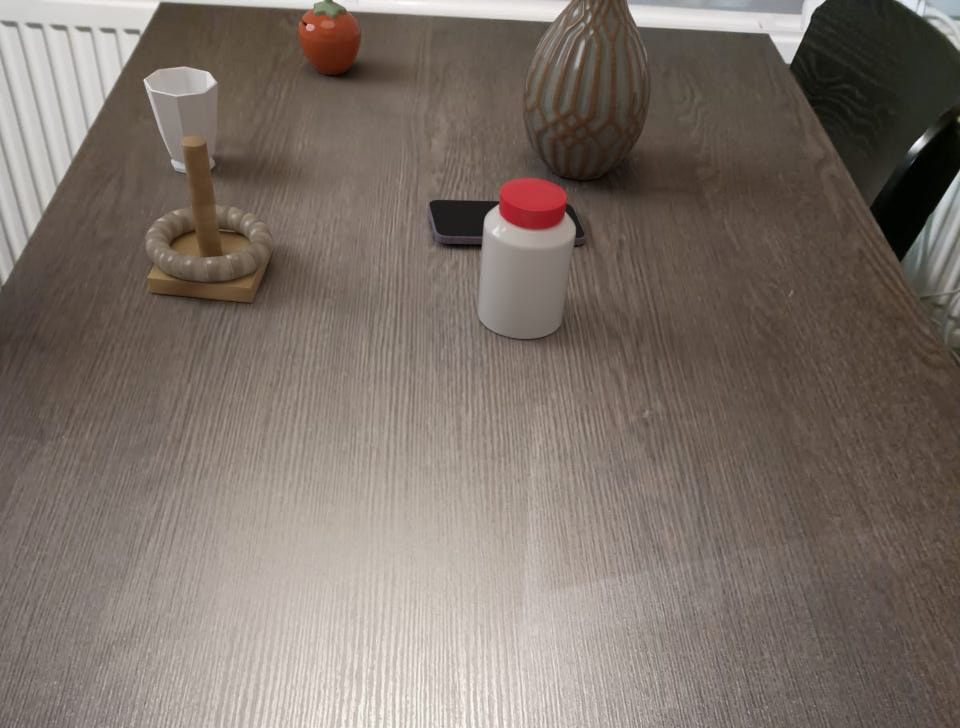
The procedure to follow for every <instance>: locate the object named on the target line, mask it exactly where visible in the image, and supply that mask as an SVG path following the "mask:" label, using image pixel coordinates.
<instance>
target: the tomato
mask: <svg viewBox="0 0 960 728" xmlns="http://www.w3.org/2000/svg"><path fill="white" fill-rule="evenodd" d="M297 35H298V40H299V44H300V47H301V49H302V52H303V53H304V54H303V55H304V56H305V58H306V60H307V61H308V63H309V65H311V66H312V68H314V70H315V71H316V72H318V73H319V74H322V75H326V76H337V75H341V74H344V73H346V72H347V71H348V70H349V69H350V68H351V67H352V65H353V64H354V62H355V61H356V59H357V56H358V53H359V50H360V46H361V41H362V32H361V26H360V25H359V22H358V20H357V18H356V17H355V16H354V15H353V14H352V13H350V11H348V10H347V8H346V7H345V6H343V5H342V4H339V3H337V2H336V1H334V0H322V1H317V2H314V3H313V8H311V9H308V10H307V11H306V12H305V13H304V14H303V15H302V16H301V18H300V21H299V23H298V26H297Z"/></svg>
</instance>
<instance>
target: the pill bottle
mask: <svg viewBox="0 0 960 728" xmlns="http://www.w3.org/2000/svg"><path fill="white" fill-rule="evenodd" d="M498 201H499V204H498V205H497V206H495V207H494V208H492V209H491V210H490V211H489V212H488V213H487V215H486V217H485V219H484V226H483V239H482V244H481V254H480V265H479V267H480V268H479V280H478V291H477V292H478V293H477V303H476V315H477V317H478V320H479V321H480V322H481V323H482V325H484V327H486V328H487V329H489V330H490V331H492V332H493V333H496V334H497V335H500V336H504V337H507V338H512V339H517V340H518V339H519V340H533V339H539V338H543V337H547V336H549V335H551V334H553V333H554V332H556V331H558V329H559V328H560V327H561V326H562V323H563V319H564V313H565V307H566V301H567V293H568V288H569V279H570V274H571V270H572V269H571V267H572V262H573V255H574V248H575V246H574V243H575V236H576V226H575V223H574V221H573V220H572V219H571V217H570V216H569V215H568V214H567V213H566V211H565V210H566V204H568V203H567V202H568V194H567V192H566V191H565V189H563V188H562V187H561V186H560V185H558V184H557V183H554V182H553V181H550V180H546V179H542V178H535V177H521V178H516V179H515V178H514V179H512V180H508V181H507V182H505V183H504V184H503V185H502V186H501V187H500V190H499V200H498Z"/></svg>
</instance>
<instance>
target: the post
mask: <svg viewBox="0 0 960 728" xmlns="http://www.w3.org/2000/svg"><path fill="white" fill-rule="evenodd" d="M181 144H182V150H183V156H184V163H185V169H186V173H185V174H186V180H187V187H188V193H189V199H190V204H191V205H190V206H192V211H193V218H194V224H195V230H194V231H191V232H188V233H184V234H181V235H180V236H178V237H177V238H175V239H174V240H172V241H171V243H170V245H169V246H170V247H171V248H172V249H173V250H174V251H177V252H179V253H182V254H185V255H187V256H196V257H205V258H206V257H217V256H225V255H228V254H231V253H234V252H237V251H240V250H242V249H243V248H244V247H246V246H247V245H249V242H250V239H249V238H247V237H246V236H245V235H243V234H240V233H238V232H235V231H229V230H220V229H219V226H218V219H217V212H216V205H217V204H216V200H215V199H216V198H215V192H214V186H213V185H214V184H213V179H212V169H211V170H210V163H209V156H208V149H207V142H206V139H205V138H203V137H201V136H187V137H184V138H183V139H182V140H181ZM273 251H274V248H273V249H272V252H271V254H270V257H269V259H268V261H267V262H266V263H265V264H263V265H262V266H261V267H259V268H258V269H257V270H255V271H254V272H253V273H251V274H248V275H245V276H242V277H239V278H236V279H233V280H228V281H218V282H198V281H189V280H183V279H181V278H178V277H175V276H173V275H170V274H167V273H165V272H163V271H162V270H161V269H160V268H159V267H157V266H156V265H155V264H154V263H153V266H152V267H151V269H150V271H149V273H148V275H147V278H146V279H147V283H148V287H149V292H150V294H159V295H168V296H179V297H189V298H196V299H197V298H198V299H208V300H218V301H228V302H238V303H249V304H253V302H254V299H255V298H256V294H257V292H258V290H259V287H260V284H261V282H262V279H263V276H264V274H265V272H266V269H267V266H268V264H269V262H270V260H271V259H270V258H271V256H272V254H273Z"/></svg>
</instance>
